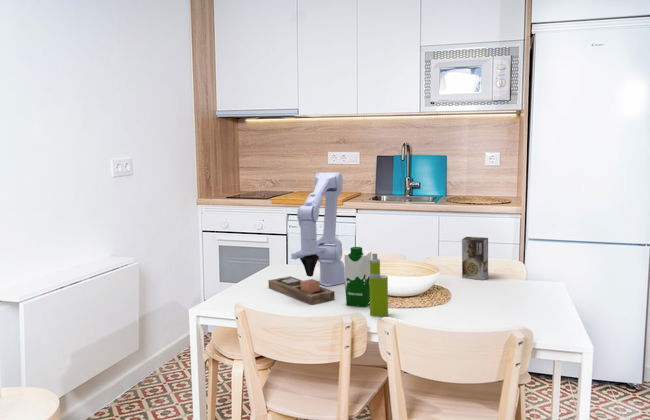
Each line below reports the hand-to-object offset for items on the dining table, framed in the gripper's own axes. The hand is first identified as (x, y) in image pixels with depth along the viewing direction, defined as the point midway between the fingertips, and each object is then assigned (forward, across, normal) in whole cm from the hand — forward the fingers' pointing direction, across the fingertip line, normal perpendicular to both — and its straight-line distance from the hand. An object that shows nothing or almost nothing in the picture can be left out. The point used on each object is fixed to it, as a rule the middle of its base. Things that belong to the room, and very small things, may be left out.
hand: (309, 275), depth 204 cm
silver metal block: (+8, -1, -14) cm, 16 cm away
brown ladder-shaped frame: (+8, -1, -7) cm, 11 cm away
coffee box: (+8, -65, +25) cm, 70 cm away
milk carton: (+8, -7, +18) cm, 21 cm away
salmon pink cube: (+6, 0, 0) cm, 6 cm away
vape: (+8, -3, +31) cm, 33 cm away
